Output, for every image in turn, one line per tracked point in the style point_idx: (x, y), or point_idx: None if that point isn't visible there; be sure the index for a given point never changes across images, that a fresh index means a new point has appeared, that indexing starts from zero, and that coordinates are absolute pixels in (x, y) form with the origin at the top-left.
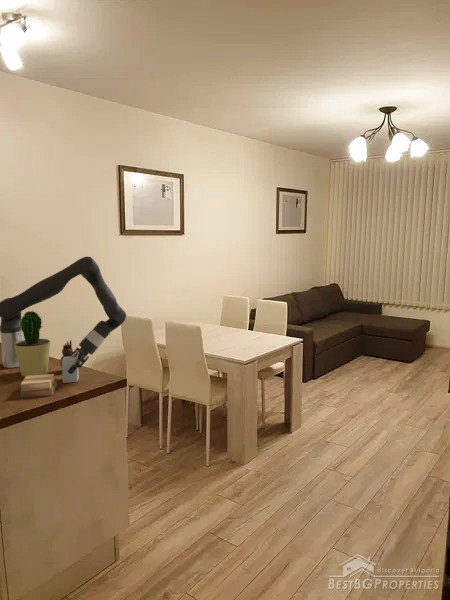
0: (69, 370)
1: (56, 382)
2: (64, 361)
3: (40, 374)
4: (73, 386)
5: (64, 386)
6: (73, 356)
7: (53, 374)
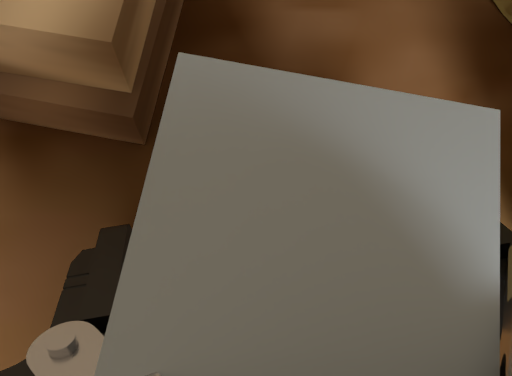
0: (97, 250)
1: (104, 120)
2: (169, 118)
3: (507, 3)
4: (20, 311)
5: (72, 213)
6: (488, 345)
7: (73, 34)
